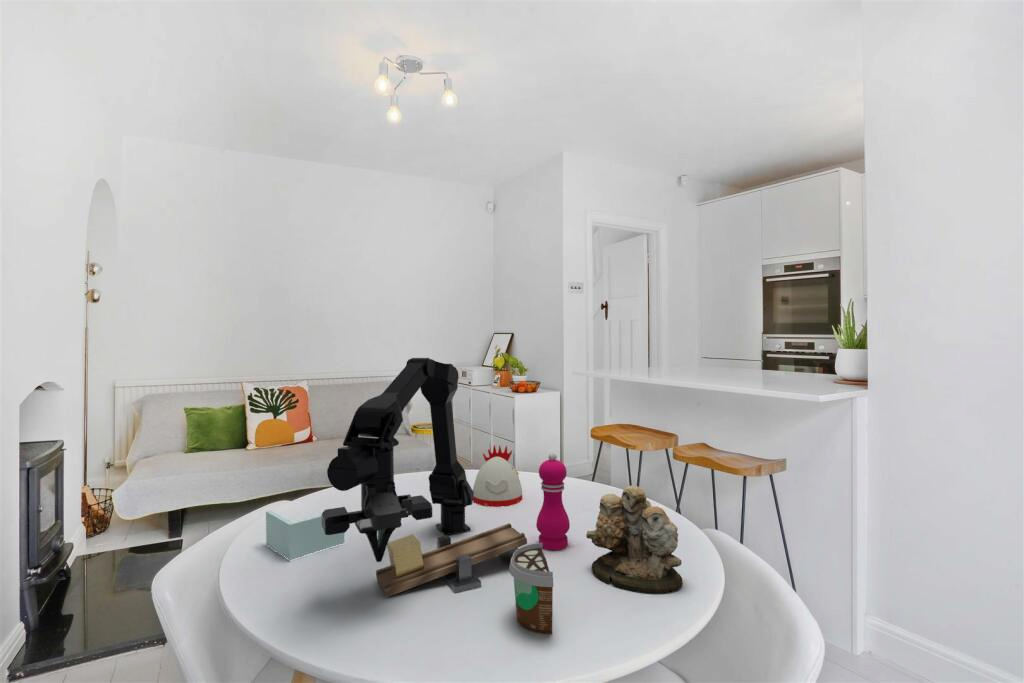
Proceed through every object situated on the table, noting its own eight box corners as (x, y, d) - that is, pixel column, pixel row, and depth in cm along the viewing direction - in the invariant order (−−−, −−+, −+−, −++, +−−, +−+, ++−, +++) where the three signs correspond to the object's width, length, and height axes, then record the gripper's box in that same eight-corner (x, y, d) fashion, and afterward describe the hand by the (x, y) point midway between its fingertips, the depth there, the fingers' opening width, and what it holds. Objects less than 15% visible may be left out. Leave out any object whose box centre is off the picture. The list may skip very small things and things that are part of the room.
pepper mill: (568, 552, 112) (567, 457, 111) (534, 550, 113) (533, 456, 113) (571, 539, 119) (570, 449, 118) (539, 537, 120) (538, 448, 120)
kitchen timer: (522, 507, 142) (521, 450, 141) (470, 507, 142) (469, 450, 141) (522, 491, 155) (521, 440, 155) (474, 491, 156) (474, 440, 155)
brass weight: (397, 580, 95) (392, 551, 95) (391, 571, 99) (386, 542, 99) (424, 571, 98) (419, 542, 97) (417, 561, 102) (412, 534, 101)
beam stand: (455, 592, 95) (454, 564, 95) (429, 560, 108) (428, 536, 108) (536, 573, 102) (536, 547, 102) (502, 545, 115) (502, 522, 115)
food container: (506, 600, 92) (506, 542, 92) (542, 598, 92) (541, 541, 92) (512, 642, 80) (512, 575, 79) (553, 639, 80) (553, 573, 80)
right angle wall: (344, 544, 117) (344, 510, 117) (290, 561, 108) (289, 524, 108) (318, 530, 125) (318, 498, 125) (266, 545, 117) (265, 511, 117)
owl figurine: (577, 580, 99) (576, 489, 99) (596, 557, 110) (596, 474, 110) (677, 601, 91) (676, 501, 91) (688, 573, 102) (687, 484, 102)
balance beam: (387, 597, 93) (385, 587, 93) (376, 578, 100) (375, 569, 100) (527, 543, 105) (526, 535, 105) (509, 530, 112) (508, 522, 112)
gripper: (329, 494, 84) (330, 592, 85) (441, 479, 93) (442, 568, 93) (320, 477, 94) (321, 565, 95) (422, 464, 103) (423, 545, 103)
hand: (378, 561), depth 96 cm, fingers closed
